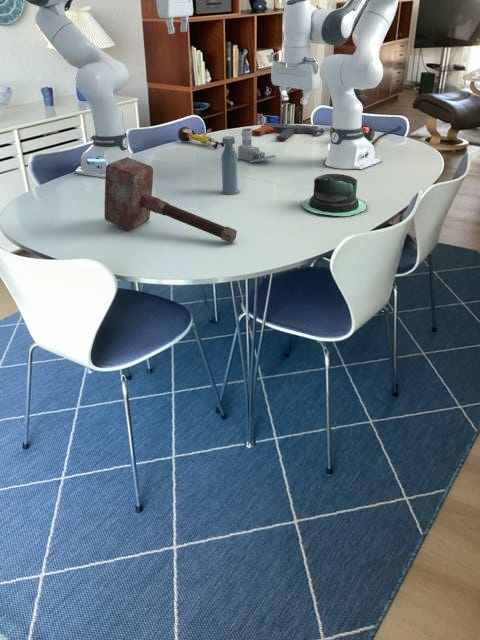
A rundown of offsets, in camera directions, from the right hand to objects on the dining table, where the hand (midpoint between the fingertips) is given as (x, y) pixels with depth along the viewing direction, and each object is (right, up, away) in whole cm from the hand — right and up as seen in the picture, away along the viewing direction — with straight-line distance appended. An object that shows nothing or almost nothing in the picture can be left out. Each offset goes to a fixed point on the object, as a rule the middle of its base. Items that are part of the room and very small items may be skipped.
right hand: (294, 102), depth 183 cm
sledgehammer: (-37, -47, -24) cm, 65 cm away
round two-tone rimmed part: (+12, -36, -8) cm, 39 cm away
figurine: (-36, +8, +69) cm, 78 cm away
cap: (-22, -12, -2) cm, 25 cm away
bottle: (-21, -28, +7) cm, 36 cm away
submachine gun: (+4, +16, +81) cm, 82 cm away
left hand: (-38, +23, 0) cm, 45 cm away
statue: (+37, +20, +86) cm, 96 cm away
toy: (+34, +6, +64) cm, 72 cm away
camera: (-12, -8, +42) cm, 44 cm away
